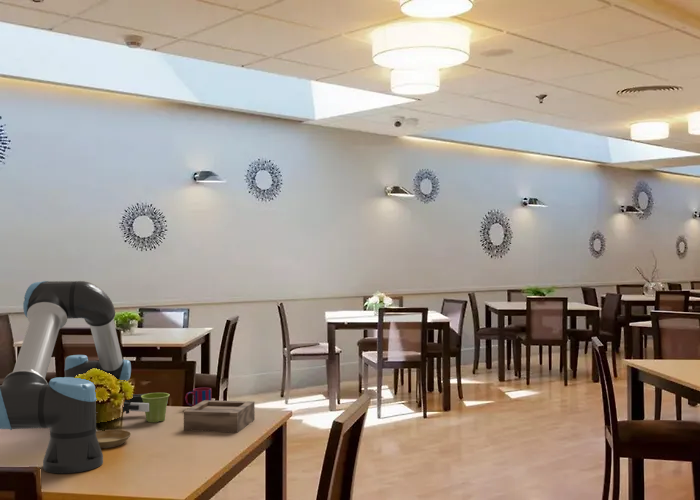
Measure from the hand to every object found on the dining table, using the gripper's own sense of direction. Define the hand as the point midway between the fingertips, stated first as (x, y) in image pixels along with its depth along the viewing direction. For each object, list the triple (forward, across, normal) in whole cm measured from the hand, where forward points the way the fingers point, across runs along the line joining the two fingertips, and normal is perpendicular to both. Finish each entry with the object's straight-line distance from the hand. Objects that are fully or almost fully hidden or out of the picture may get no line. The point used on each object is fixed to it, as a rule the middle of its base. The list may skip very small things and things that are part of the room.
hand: (158, 403), depth 252 cm
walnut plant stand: (+24, +3, -6) cm, 24 cm away
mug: (+5, -22, -6) cm, 23 cm away
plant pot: (-1, 0, -6) cm, 6 cm away
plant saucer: (-2, +31, -6) cm, 32 cm away
